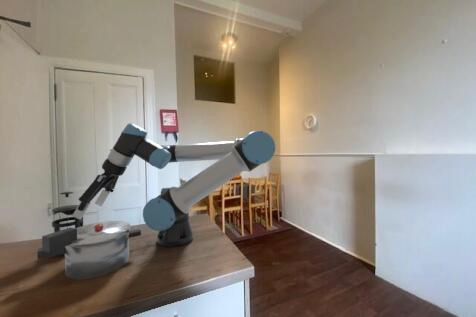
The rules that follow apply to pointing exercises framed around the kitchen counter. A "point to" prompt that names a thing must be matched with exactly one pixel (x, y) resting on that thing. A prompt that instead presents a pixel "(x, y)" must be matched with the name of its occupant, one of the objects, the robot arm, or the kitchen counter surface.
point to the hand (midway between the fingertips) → (88, 210)
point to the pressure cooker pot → (93, 257)
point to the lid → (85, 235)
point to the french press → (68, 211)
